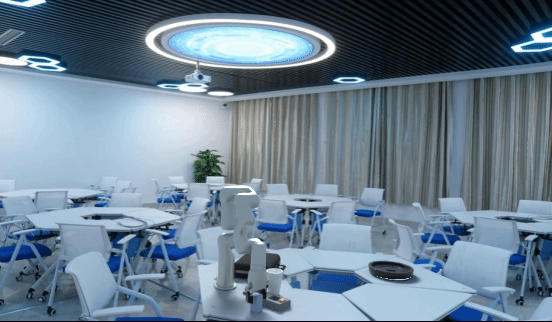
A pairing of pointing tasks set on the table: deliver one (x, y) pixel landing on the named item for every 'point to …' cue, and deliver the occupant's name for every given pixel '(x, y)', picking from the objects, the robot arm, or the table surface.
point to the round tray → (390, 269)
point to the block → (256, 302)
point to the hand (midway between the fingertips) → (256, 300)
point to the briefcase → (244, 264)
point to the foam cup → (274, 280)
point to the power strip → (273, 301)
